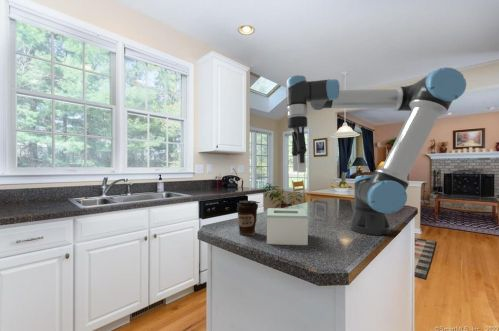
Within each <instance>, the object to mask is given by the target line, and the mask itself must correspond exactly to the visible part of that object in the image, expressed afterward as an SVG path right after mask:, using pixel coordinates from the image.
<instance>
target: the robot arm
mask: <svg viewBox="0 0 499 331" xmlns="http://www.w3.org/2000/svg"><path fill="white" fill-rule="evenodd" d="M466 89H467V79H466V78H465V77H464V74H463V73H462V72H461V71H459V70H458V69H456V68H453V67H440V68H438V69H436V70H432V71H431V72H430V73H428V75H426V76H425V77H423V78H422V79H420V80H418V81H417V82H415V83H413V84H410V85H406V86H397V87H396V88H395V89H394V88H393V89H391V88H390V89H385V88H384V89H341V88H340V82H339V80H338V79H335V78H333V79H330V78H329V79H322V80H321V79H320V80H310V81H307V78H306V76H304V75H296V74H295V75H293V76H289V77H288V79H287V80H286V105H287V107H286V108H287V109H285V112H286V113H287V128H288V129H291V130H292V129H293V132H292V133H291V136H292V137H291V138H292V141H291V142H292V145H291V155H292V171H293V173H295V172H297V173H307V166H306V164H307V162H306V161H307V160H306V152H307V144H306V136H305V128H307V127H308V117H307V116H308V104H307V102H309V107H310V108H312V110H314V111H320V110H323V109H392V110H393V111H397V112H398V111H399V112H409V114H408V115H407V117H406V118H405V121H404V123H403V125H402V127H401V129H400V131H399V133H398V135H397V137H396V139H395V141H394V143H393V145H392V147H391V149H390V150H389V153H388V154H387V156H386V159H385V161H384V162H383V165H382V166H381V167H380V168H377V169H375V170H374V172H373V173H372V174H365V175H357V176H355V178H354V183H353V185H354V211H353V214H352V218H351V220H350V224H349V228H350V230H351V231H354V232H355V233H356V232H357V233H358V234H359V233H360V234H365V235H371V234H372V235H371V236H373V235H375V236H383V235H382V234H386V235H389V234H391V225H390V224H389V221H388V217H387V215H386V214H394V213H397V212H398V211H400V210H401V209H402V208H404V206H405V205H406V203H407V202H408V201H407V200H408V194H407V189H408V187H409V184H410V182H409V180H408V176H409V174H410V172H411V170H412V168H413V166H414V164H415V163H416V160H417V159H418V158H419V154H420V153H421V151H422V149H423V147H424V145H425V144H426V141H427V139H428V138H429V136H430V134H431V132H432V130H433V128H434V126H435V124H436V123H437V120H438V118H439V117H441V116H444V115H446V114H447V112H448V110H449V109H450V107H451V105H452V103H453V101H455V100H457V99H459V98H460V97H461V96H462V95H463V94H464V92H466Z"/></svg>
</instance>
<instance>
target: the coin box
mask: <svg viewBox="0 0 499 331" xmlns="http://www.w3.org/2000/svg"><path fill="white" fill-rule="evenodd" d="M308 218H309V215H308V214H307V213H306V212H305V210H304V209H303V208H282V207H281V208H279V207H278V208H276V207H275V208H272V207H269V208H267V210H266V244H267V245H286V246H308V245H309V242H308V241H309V239H308V238H309V233H308V232H309V229H308V228H309V225H308V224H309V219H308Z"/></svg>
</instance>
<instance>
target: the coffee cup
mask: <svg viewBox="0 0 499 331" xmlns="http://www.w3.org/2000/svg"><path fill="white" fill-rule="evenodd" d="M236 205H237V207H236V209H237V220H238V221H237V222H238V223H237V224H238V230H239V231H238V232H239V234H240V235H242V236H252V235H256V224H257V214H258V208H259V204H258V203H257V201H256V200H239V202H238V203H237V204H236Z"/></svg>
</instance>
